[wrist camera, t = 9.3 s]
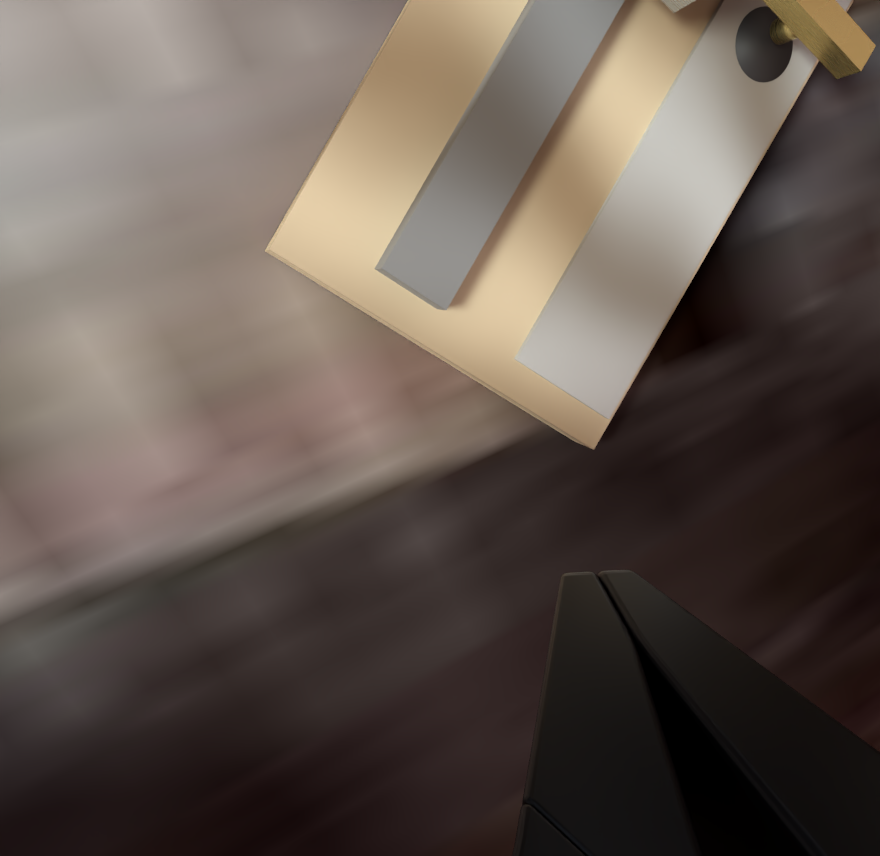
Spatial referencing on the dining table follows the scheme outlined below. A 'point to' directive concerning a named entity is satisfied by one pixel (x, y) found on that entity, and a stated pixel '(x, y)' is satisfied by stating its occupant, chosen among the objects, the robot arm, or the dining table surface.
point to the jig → (543, 183)
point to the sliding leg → (816, 32)
